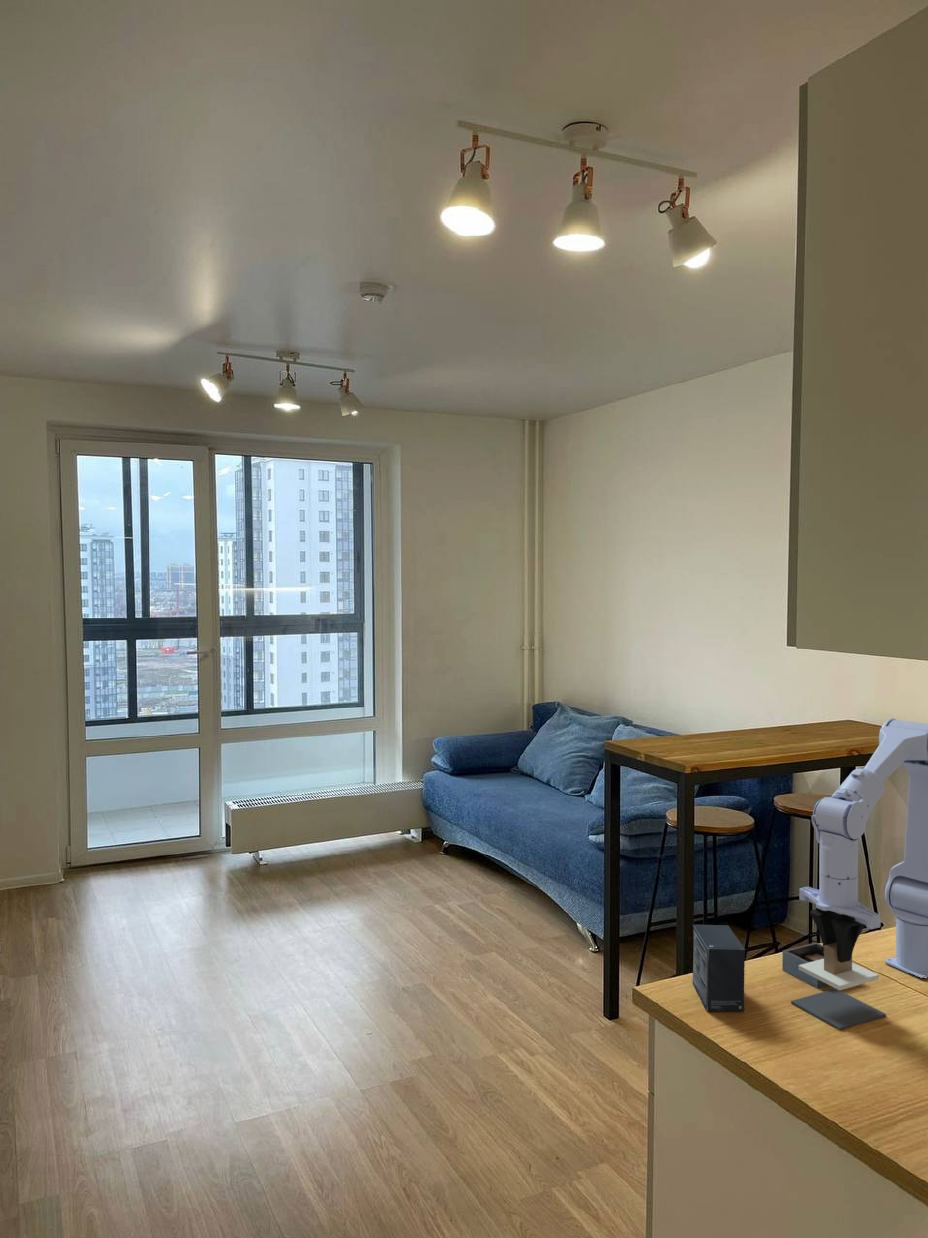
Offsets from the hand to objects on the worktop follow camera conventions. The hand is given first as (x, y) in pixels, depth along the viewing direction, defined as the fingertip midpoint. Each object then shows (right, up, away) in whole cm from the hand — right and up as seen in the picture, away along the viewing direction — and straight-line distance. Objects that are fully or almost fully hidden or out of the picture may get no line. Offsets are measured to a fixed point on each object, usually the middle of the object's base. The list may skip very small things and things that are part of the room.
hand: (837, 957), depth 147 cm
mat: (0, -9, 0) cm, 8 cm away
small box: (-18, -9, +5) cm, 20 cm away
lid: (0, -3, 0) cm, 3 cm away
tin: (+2, -8, +13) cm, 16 cm away
